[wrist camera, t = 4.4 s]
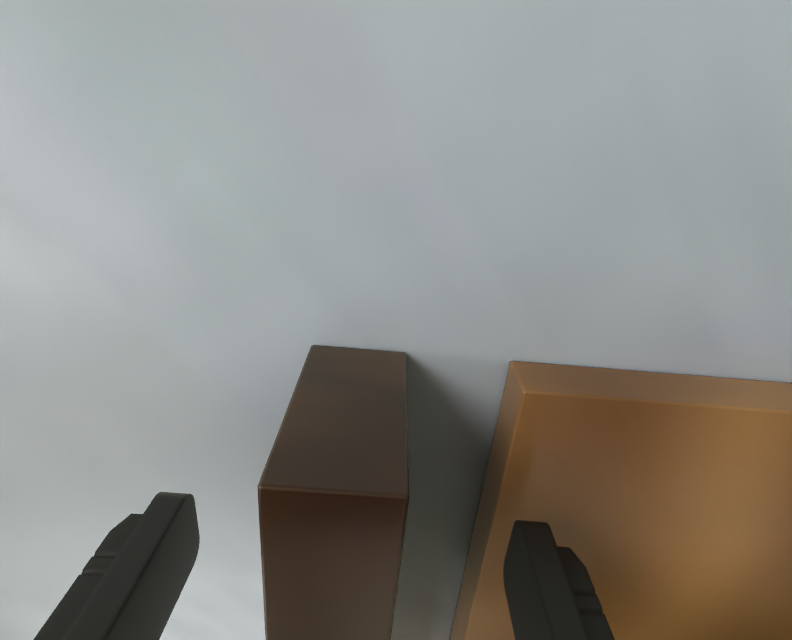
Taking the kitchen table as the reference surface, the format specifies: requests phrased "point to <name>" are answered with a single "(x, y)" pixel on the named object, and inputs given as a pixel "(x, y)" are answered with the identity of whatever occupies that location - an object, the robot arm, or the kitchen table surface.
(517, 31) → the kitchen table surface
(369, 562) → the knife
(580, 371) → the board
